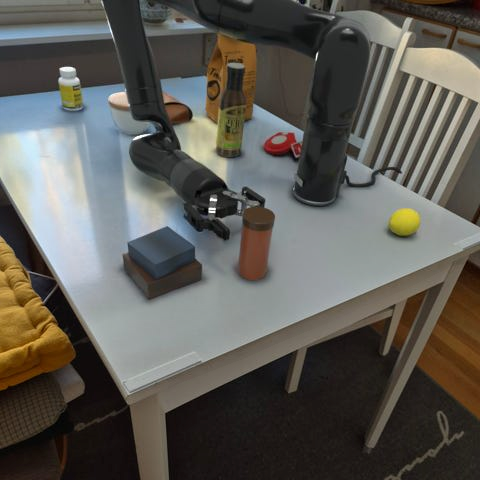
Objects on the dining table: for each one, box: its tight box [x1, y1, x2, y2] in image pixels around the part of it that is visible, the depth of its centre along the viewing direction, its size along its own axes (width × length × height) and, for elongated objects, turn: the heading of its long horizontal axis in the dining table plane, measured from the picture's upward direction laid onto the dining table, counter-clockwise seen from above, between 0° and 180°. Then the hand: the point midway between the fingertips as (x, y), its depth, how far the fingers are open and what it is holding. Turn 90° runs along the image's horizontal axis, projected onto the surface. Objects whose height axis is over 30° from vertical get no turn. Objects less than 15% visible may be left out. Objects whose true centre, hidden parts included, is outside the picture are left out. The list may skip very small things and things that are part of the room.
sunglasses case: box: [162, 90, 194, 125], centre depth 130 cm, size 18×7×7 cm, turn 39°
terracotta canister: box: [237, 206, 276, 281], centre depth 78 cm, size 5×5×11 cm
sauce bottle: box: [215, 63, 246, 158], centre depth 109 cm, size 6×6×20 cm
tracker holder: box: [263, 131, 302, 160], centre depth 118 cm, size 12×4×10 cm
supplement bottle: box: [58, 66, 84, 112], centre depth 125 cm, size 5×5×10 cm
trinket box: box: [107, 91, 151, 136], centre depth 118 cm, size 11×11×9 cm
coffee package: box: [205, 32, 258, 124], centre depth 125 cm, size 10×12×22 cm
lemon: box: [388, 207, 421, 236], centre depth 93 cm, size 7×5×5 cm
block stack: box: [122, 225, 203, 300], centre depth 78 cm, size 10×9×6 cm
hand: (249, 228), depth 79 cm, fingers open, 8 cm apart
